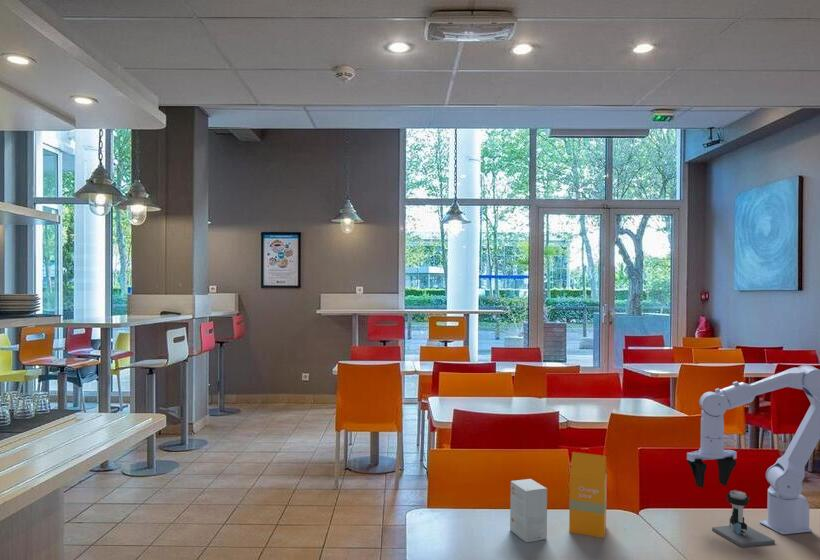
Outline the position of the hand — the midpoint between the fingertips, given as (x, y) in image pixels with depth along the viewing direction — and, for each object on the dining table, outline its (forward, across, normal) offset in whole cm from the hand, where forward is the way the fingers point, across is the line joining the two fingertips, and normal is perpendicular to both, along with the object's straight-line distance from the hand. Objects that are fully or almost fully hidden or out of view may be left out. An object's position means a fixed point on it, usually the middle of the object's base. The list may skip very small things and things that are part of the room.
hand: (711, 485), depth 165 cm
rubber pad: (+9, 0, +11) cm, 15 cm away
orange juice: (+10, +37, -1) cm, 38 cm away
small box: (+10, +54, -1) cm, 55 cm away
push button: (+9, 0, +10) cm, 14 cm away
